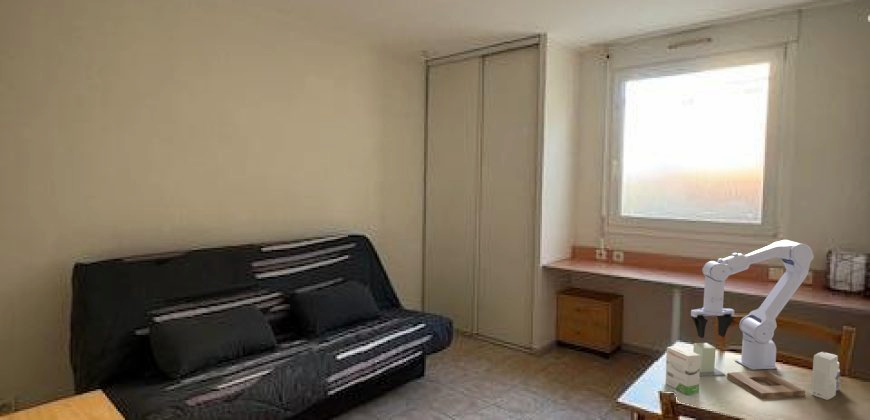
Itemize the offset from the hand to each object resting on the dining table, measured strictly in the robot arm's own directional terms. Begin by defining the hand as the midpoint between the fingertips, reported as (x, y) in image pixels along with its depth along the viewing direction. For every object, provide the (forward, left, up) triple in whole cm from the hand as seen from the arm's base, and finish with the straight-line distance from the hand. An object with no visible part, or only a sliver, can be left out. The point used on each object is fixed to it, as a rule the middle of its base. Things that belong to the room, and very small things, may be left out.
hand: (711, 336), depth 167 cm
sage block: (+6, +5, -9) cm, 12 cm away
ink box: (+21, +16, -10) cm, 28 cm away
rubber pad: (+6, +5, -9) cm, 12 cm away
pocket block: (-5, +18, -9) cm, 21 cm away
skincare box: (-18, +25, -10) cm, 32 cm away
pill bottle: (-24, +21, -10) cm, 33 cm away
